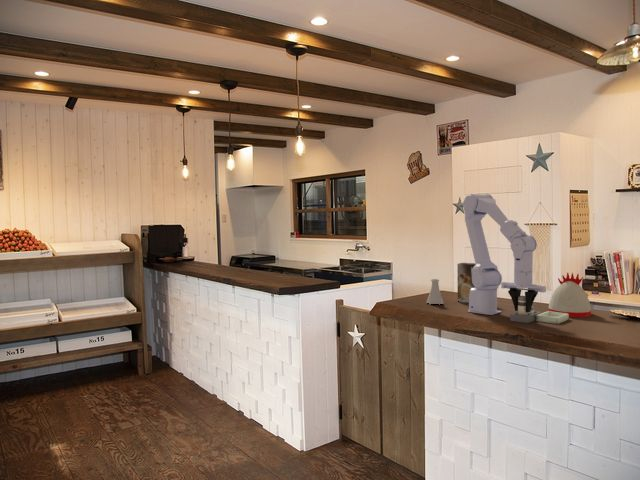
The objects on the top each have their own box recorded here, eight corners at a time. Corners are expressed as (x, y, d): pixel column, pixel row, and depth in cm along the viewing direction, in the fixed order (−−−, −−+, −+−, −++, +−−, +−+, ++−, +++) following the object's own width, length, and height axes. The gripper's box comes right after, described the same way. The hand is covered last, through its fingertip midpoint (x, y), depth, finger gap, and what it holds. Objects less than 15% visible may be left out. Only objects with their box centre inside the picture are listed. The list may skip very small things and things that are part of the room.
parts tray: (536, 320, 168) (536, 315, 168) (547, 316, 175) (547, 311, 175) (557, 324, 163) (557, 318, 163) (568, 319, 170) (568, 313, 170)
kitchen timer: (589, 318, 172) (590, 275, 171) (546, 314, 179) (546, 273, 179) (591, 311, 184) (592, 271, 183) (551, 308, 191) (551, 269, 190)
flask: (424, 302, 207) (424, 278, 206) (442, 302, 206) (442, 278, 206) (427, 305, 199) (427, 280, 199) (445, 305, 199) (446, 280, 199)
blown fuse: (515, 319, 169) (516, 296, 169) (519, 318, 172) (520, 295, 171) (525, 321, 167) (525, 297, 167) (529, 319, 169) (529, 296, 169)
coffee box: (484, 302, 206) (484, 263, 206) (478, 304, 201) (478, 264, 201) (463, 299, 212) (463, 262, 211) (456, 301, 207) (456, 263, 207)
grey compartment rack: (510, 320, 169) (510, 308, 169) (524, 315, 177) (524, 304, 177) (527, 323, 165) (527, 310, 165) (541, 318, 173) (541, 306, 172)
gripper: (497, 270, 171) (496, 310, 172) (540, 274, 161) (539, 315, 161) (506, 269, 176) (506, 307, 176) (548, 272, 165) (548, 312, 166)
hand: (522, 311), depth 169 cm, fingers closed on blown fuse, 3 cm apart
